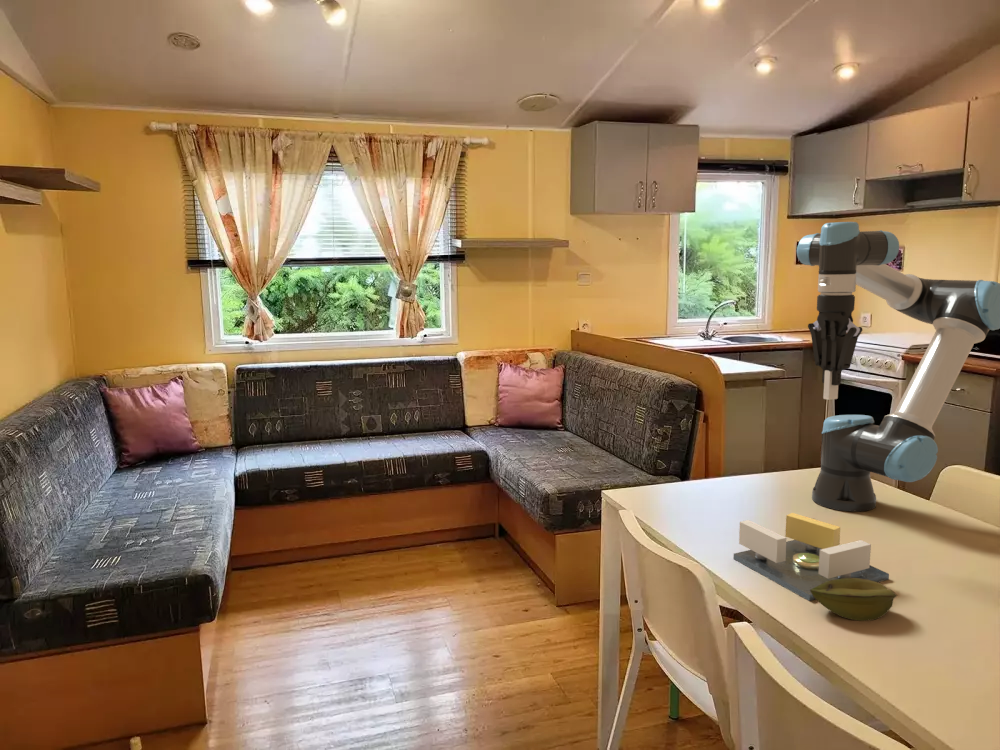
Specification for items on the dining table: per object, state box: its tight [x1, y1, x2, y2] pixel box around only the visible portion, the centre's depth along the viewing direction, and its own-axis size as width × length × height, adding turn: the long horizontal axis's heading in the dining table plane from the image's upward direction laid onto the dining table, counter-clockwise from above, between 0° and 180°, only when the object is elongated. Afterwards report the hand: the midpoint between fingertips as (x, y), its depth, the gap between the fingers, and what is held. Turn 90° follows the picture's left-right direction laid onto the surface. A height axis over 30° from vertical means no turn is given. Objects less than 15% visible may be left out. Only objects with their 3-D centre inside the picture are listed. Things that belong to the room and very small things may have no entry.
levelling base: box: [733, 539, 890, 602], centre depth 147 cm, size 21×21×3 cm
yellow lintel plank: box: [784, 512, 841, 550], centre depth 153 cm, size 11×2×6 cm, turn 36°
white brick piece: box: [818, 539, 872, 579], centre depth 140 cm, size 11×2×6 cm, turn 113°
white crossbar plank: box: [738, 519, 787, 563], centre depth 149 cm, size 11×2×6 cm, turn 23°
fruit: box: [810, 578, 897, 622], centre depth 129 cm, size 11×12×7 cm
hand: (830, 398), depth 159 cm, fingers closed
